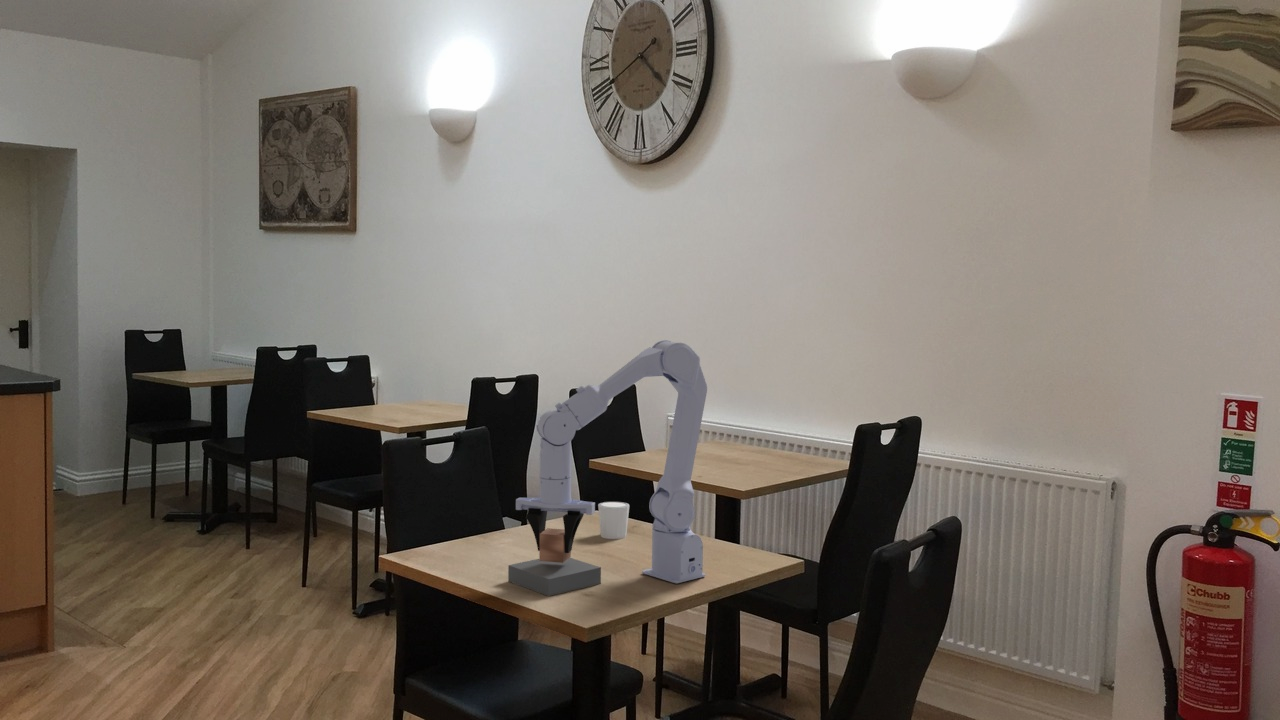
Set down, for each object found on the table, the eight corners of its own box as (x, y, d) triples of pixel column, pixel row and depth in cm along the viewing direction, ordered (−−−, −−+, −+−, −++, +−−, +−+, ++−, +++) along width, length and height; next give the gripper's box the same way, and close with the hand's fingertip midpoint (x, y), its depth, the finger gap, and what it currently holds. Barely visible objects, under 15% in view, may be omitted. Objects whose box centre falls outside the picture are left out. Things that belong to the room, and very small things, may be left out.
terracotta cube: (570, 556, 190) (570, 529, 190) (563, 562, 186) (563, 535, 186) (547, 554, 192) (547, 528, 191) (539, 560, 187) (539, 533, 187)
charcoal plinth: (600, 583, 189) (600, 567, 188) (548, 596, 180) (548, 579, 180) (559, 569, 197) (559, 554, 197) (508, 581, 189) (508, 565, 189)
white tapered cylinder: (630, 532, 228) (631, 501, 228) (627, 540, 221) (627, 508, 221) (599, 531, 229) (600, 500, 228) (595, 539, 222) (595, 507, 222)
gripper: (599, 475, 190) (599, 548, 191) (525, 471, 193) (524, 542, 194) (588, 482, 183) (588, 557, 184) (511, 477, 186) (511, 551, 187)
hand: (554, 550), depth 188 cm, fingers closed on terracotta cube, 4 cm apart
